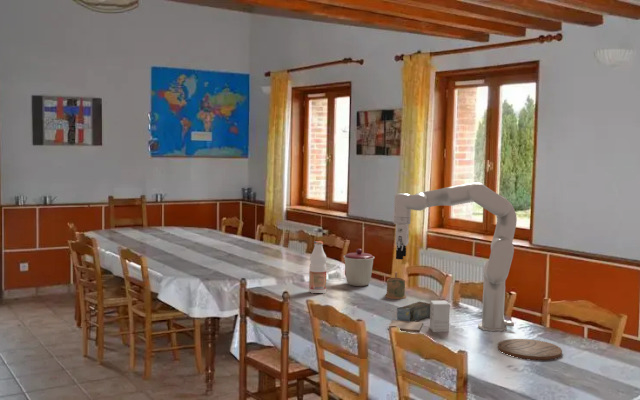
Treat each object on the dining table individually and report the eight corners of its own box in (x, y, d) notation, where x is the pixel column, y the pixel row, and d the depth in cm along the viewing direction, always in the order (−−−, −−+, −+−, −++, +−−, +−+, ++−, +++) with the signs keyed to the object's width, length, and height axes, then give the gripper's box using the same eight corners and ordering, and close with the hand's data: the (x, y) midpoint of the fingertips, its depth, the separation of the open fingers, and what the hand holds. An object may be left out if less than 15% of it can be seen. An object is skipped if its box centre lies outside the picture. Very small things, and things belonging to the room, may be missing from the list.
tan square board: (422, 324, 329) (422, 322, 328) (419, 332, 315) (419, 330, 315) (392, 322, 332) (392, 319, 332) (387, 329, 318) (387, 327, 318)
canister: (336, 283, 418) (337, 248, 416) (358, 280, 430) (359, 245, 428) (358, 289, 404) (359, 252, 403) (380, 285, 416) (381, 249, 415)
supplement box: (445, 327, 324) (446, 300, 323) (449, 332, 316) (450, 304, 315) (429, 327, 323) (430, 300, 322) (432, 332, 316) (433, 303, 315)
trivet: (573, 353, 290) (573, 348, 290) (542, 365, 273) (542, 360, 273) (517, 339, 308) (518, 335, 308) (485, 350, 290) (485, 346, 290)
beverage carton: (395, 320, 337) (396, 306, 336) (418, 313, 351) (419, 300, 350) (409, 323, 331) (410, 309, 331) (432, 316, 346) (433, 303, 345)
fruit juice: (305, 292, 393) (306, 241, 391) (317, 289, 400) (318, 240, 398) (317, 294, 387) (318, 243, 384) (329, 292, 393) (330, 242, 391)
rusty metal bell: (405, 292, 398) (406, 271, 397) (406, 299, 380) (407, 277, 379) (385, 291, 399) (385, 270, 398) (384, 298, 382) (385, 276, 381)
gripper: (407, 222, 318) (406, 261, 319) (412, 219, 335) (411, 255, 336) (391, 222, 320) (389, 260, 321) (396, 218, 337) (395, 254, 338)
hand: (400, 257), depth 329 cm, fingers open, 9 cm apart
